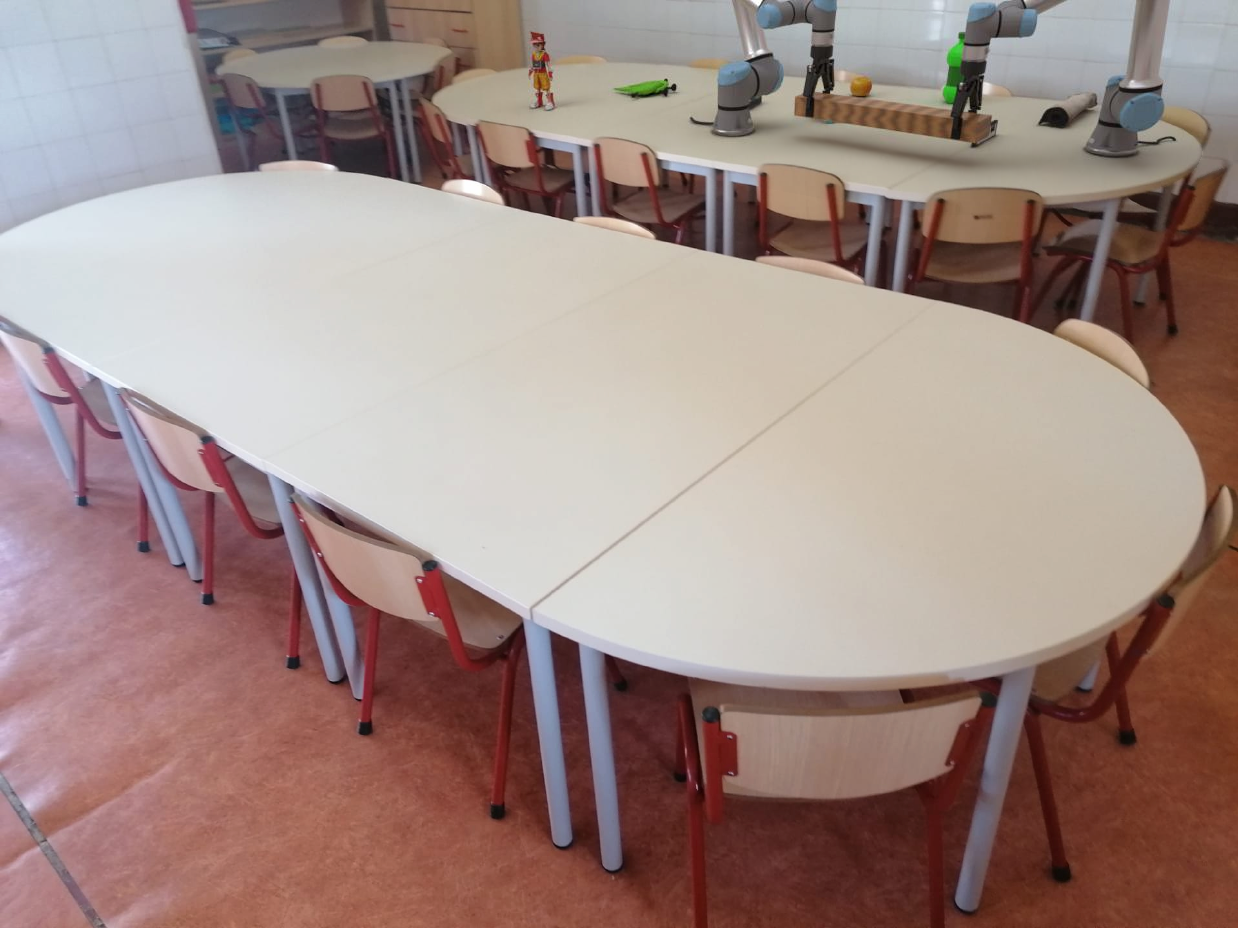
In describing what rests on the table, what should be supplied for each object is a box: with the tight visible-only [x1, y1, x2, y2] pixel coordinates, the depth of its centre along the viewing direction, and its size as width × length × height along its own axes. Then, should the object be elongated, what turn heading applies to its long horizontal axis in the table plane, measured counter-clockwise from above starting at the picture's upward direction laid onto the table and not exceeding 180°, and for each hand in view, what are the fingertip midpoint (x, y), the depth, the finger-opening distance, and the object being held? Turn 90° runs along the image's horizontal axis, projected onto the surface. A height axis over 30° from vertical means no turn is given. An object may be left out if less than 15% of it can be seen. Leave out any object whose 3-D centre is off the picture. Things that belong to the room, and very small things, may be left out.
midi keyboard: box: [970, 119, 999, 148], centre depth 308 cm, size 18×1×5 cm, turn 138°
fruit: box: [849, 76, 873, 97], centre depth 369 cm, size 8×8×8 cm
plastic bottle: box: [942, 31, 965, 104], centre depth 348 cm, size 10×10×25 cm
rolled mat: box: [1037, 91, 1098, 128], centre depth 327 cm, size 30×9×10 cm
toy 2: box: [612, 78, 677, 99], centre depth 396 cm, size 28×5×30 cm
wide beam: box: [793, 91, 993, 144], centre depth 300 cm, size 67×9×6 cm, turn 47°
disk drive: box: [749, 96, 763, 110], centre depth 366 cm, size 10×3×15 cm
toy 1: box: [527, 31, 556, 111], centre depth 374 cm, size 12×9×30 cm
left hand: (817, 113), depth 317 cm, fingers closed on wide beam, 9 cm apart
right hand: (962, 135), depth 286 cm, fingers closed on wide beam, 9 cm apart
